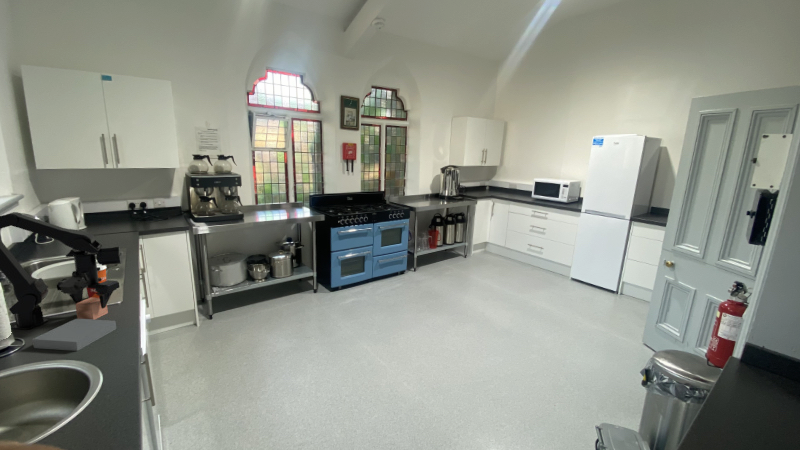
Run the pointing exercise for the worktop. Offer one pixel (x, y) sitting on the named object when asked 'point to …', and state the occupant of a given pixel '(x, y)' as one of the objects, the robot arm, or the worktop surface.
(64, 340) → the plinth
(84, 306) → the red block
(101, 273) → the paper cup
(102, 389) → the worktop surface
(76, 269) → the robot arm
